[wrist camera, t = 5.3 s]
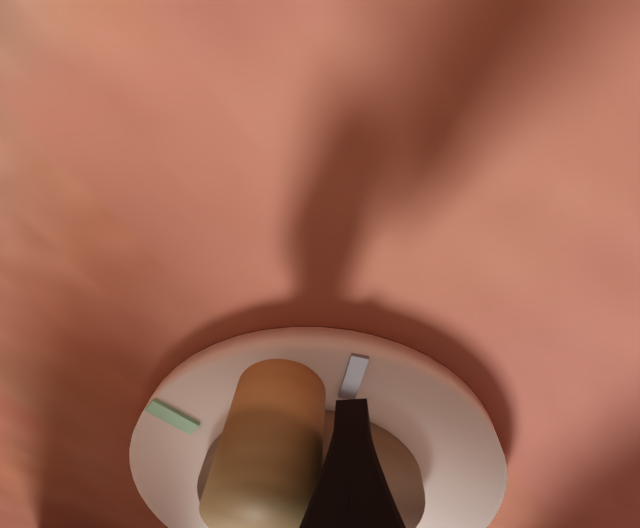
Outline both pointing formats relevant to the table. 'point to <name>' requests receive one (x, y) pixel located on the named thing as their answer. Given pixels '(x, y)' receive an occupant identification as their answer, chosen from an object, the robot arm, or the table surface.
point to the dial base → (340, 384)
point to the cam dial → (287, 453)
